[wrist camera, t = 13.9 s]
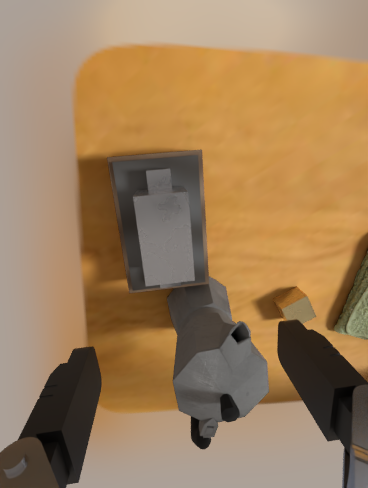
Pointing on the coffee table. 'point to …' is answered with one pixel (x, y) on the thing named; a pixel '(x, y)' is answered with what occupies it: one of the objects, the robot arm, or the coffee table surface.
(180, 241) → the block
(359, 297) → the washcloth
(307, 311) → the brass block
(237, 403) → the coffeepot
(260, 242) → the coffee table surface
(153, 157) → the stand
